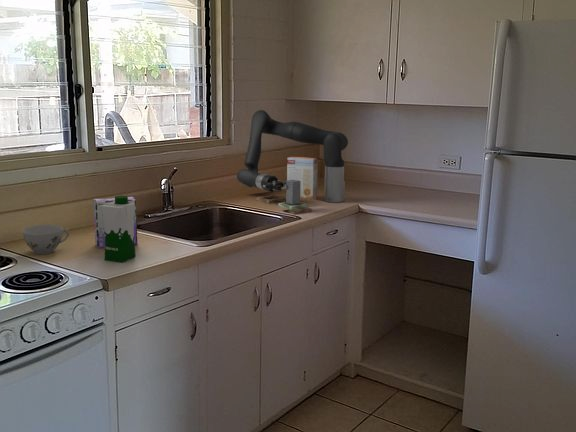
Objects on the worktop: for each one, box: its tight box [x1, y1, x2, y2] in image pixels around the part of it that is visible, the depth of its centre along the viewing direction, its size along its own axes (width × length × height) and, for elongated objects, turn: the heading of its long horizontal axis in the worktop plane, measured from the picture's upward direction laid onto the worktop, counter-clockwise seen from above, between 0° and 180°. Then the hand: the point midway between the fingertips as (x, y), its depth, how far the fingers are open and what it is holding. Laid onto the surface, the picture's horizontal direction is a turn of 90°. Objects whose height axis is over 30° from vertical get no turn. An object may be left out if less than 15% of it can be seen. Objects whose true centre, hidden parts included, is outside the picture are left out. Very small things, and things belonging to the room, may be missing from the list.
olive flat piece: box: [255, 195, 313, 215], centre depth 283 cm, size 10×30×3 cm, turn 38°
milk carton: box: [100, 195, 136, 263], centre depth 196 cm, size 9×9×20 cm
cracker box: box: [286, 156, 319, 201], centre depth 299 cm, size 14×6×21 cm, turn 65°
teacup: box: [21, 224, 70, 255], centre depth 205 cm, size 15×12×8 cm
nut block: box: [285, 179, 301, 206], centre depth 275 cm, size 4×4×12 cm
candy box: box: [93, 196, 138, 249], centre depth 213 cm, size 14×6×16 cm, turn 114°
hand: (288, 187), depth 277 cm, fingers open, 8 cm apart
